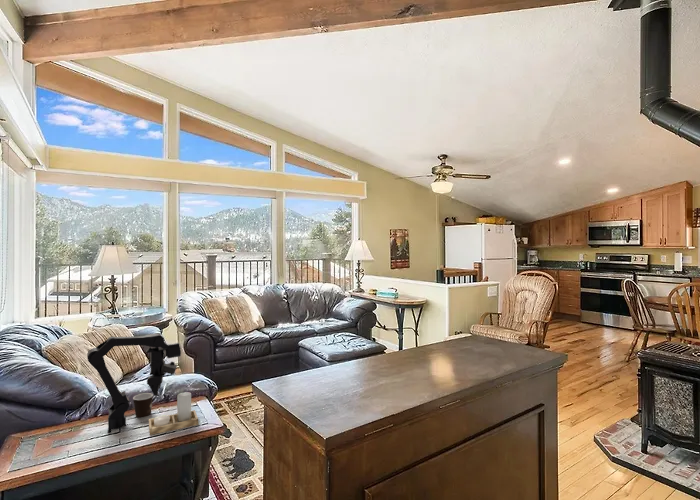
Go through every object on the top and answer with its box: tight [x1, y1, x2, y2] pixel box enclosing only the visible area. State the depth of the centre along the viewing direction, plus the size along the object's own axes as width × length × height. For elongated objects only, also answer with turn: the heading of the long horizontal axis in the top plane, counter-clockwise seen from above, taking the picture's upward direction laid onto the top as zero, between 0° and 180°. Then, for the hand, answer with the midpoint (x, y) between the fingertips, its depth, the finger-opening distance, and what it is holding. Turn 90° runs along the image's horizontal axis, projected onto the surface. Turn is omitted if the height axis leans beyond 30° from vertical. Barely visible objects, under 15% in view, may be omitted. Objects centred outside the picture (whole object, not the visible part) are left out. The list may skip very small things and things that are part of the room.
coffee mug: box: [132, 392, 154, 419], centre depth 191 cm, size 12×9×10 cm
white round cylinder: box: [154, 414, 170, 427], centre depth 177 cm, size 6×6×4 cm
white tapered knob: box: [176, 391, 192, 422], centre depth 181 cm, size 6×6×13 cm
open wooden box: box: [148, 410, 199, 436], centre depth 179 cm, size 20×11×4 cm, turn 119°
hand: (157, 392), depth 187 cm, fingers open, 9 cm apart
